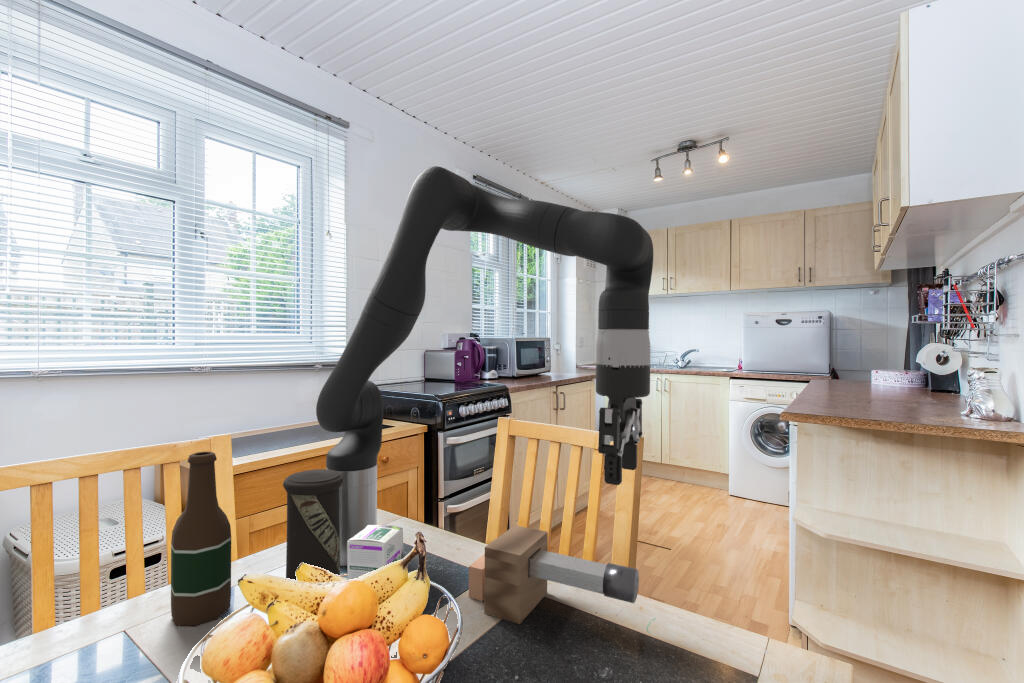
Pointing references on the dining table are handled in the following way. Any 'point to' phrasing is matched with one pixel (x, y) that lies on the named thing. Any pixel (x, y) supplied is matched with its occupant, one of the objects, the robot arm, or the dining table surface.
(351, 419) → the robot arm
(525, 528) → the bearing block
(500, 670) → the dining table surface
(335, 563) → the container
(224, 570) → the beer bottle
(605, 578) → the shaft
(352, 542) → the syrup box
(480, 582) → the block
